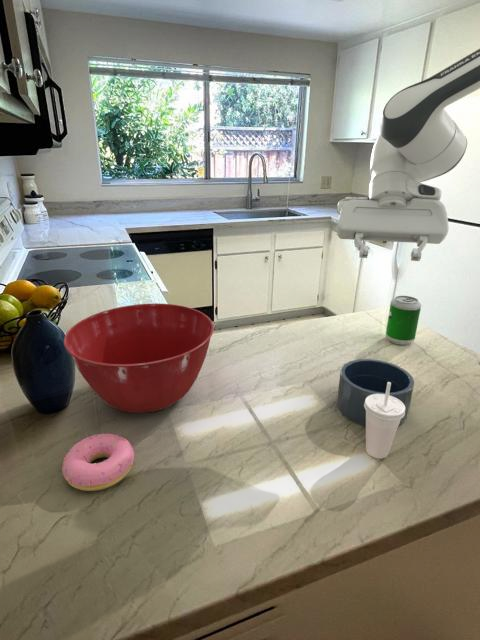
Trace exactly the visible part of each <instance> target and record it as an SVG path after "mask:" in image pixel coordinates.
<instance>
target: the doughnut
mask: <svg viewBox="0 0 480 640" xmlns="http://www.w3.org/2000/svg"><path fill="white" fill-rule="evenodd" d="M105 458H106V459H105ZM98 459H103V461H100V462H94V461H96V460H98ZM134 461H135V450H134V448H133V446H132V443H131V442H129V439H127V438H125V437H123V436H121V435H119V434H115V433H109V432H108V433H106V432H104V433H102V432H101V433H99V434H92V435H88V437H86V438H83V439H81V440H79V441H78V442H76V443H74V444H72V447H70V448H69V449H68V451H66V454H65V456H64V458H63V461H62V463H61V471H62V475H63V477H64V480H66V482H67V484H69V485H70V486H71V487H73V488H74V489H77V490H80V491H84V492H96V491H97V492H98V491H102V490H105V489H109V488H110V487H113V486H115V485H116V484H118V483H119V482H121V481H122V480H123V479H124V478H126V476H128V474H129V473H130V471H131V469H132V467H133V464H134ZM93 462H94V463H93Z"/></svg>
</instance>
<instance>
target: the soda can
mask: <svg viewBox="0 0 480 640" xmlns="http://www.w3.org/2000/svg"><path fill="white" fill-rule="evenodd" d="M421 308H422V304H421V302H420V301H419V299H418V298H416V297H414V296H410V295H397V296H395V297H394V298H392V299H391V300H390V305H389V309H388V310H389V311H388V318H387V323H386V328H385V337H386V338H387V339H388V341H389V342H391V343H392V344H395V345H400V346H406V345H410V344H411V343H412V342H414V341H415V339H416V334H417V330H418V325H419V320H420V314H421Z"/></svg>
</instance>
